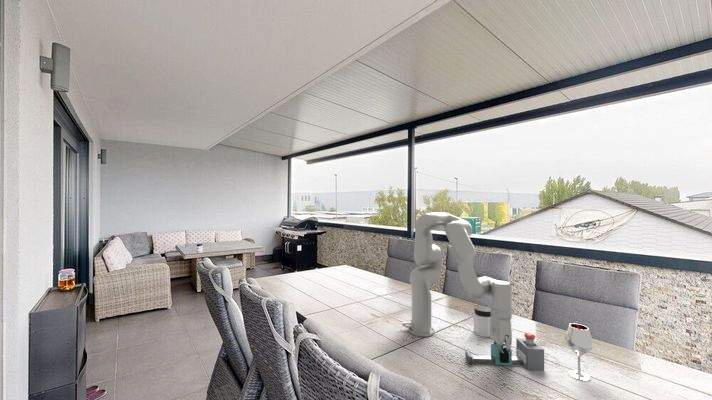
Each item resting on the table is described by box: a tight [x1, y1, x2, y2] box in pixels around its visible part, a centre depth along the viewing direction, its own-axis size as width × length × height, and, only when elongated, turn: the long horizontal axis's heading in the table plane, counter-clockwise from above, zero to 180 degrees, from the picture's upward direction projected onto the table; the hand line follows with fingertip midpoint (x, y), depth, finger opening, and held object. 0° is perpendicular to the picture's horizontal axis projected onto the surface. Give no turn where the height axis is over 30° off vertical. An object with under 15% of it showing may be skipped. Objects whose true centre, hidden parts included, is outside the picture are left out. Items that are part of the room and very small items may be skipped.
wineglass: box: [564, 323, 594, 382], centre depth 108 cm, size 8×8×18 cm
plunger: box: [523, 332, 536, 346], centre depth 116 cm, size 4×4×5 cm
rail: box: [464, 350, 524, 366], centre depth 116 cm, size 21×5×3 cm, turn 87°
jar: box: [473, 305, 491, 338], centre depth 143 cm, size 9×8×12 cm
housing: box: [515, 337, 545, 372], centre depth 116 cm, size 6×9×8 cm
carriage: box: [490, 343, 513, 366], centre depth 116 cm, size 6×5×6 cm
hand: (501, 358), depth 116 cm, fingers closed on carriage, 5 cm apart
